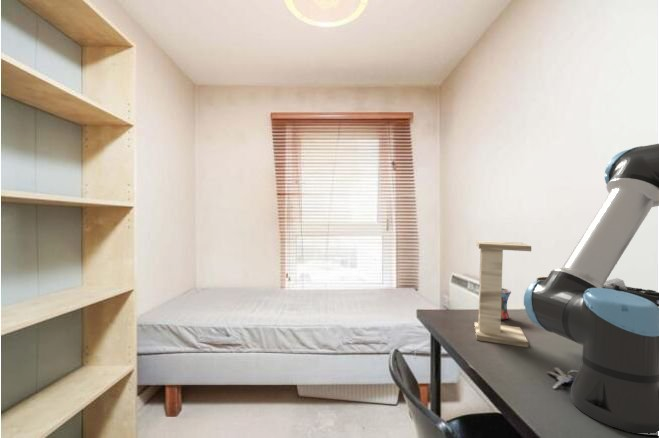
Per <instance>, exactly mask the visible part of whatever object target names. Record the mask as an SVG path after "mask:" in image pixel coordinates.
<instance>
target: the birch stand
mask: <svg viewBox="0 0 659 438" xmlns="http://www.w3.org/2000/svg"><path fill="white" fill-rule="evenodd" d="M476 246H477V248H478V249H480V252H479V253H480V257H479V283H478V285H479V287H478V321H474V323H473V324H474V325H473V326H475V327H474V332H476V333H475V338H477V339H476V341H483V342H489V343H496V344H503V345H511V346H515V347H524V348H529V341H528V338H527V337H526V335H525V334H524V332H523V330H522V328H521V327H520V326H511V325H502V324H501V323H502V322H501V321H502V319H501V295H502V288H503V287H502V286H503V261H504V260H503V257H504V256H503V255H504V254H503V253H504V251H515V252H517V251H519V252H532V245H529V244H527V243H523V242H509V241H493V240H492V241H490V240H489V241H488V240H476Z"/></svg>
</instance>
